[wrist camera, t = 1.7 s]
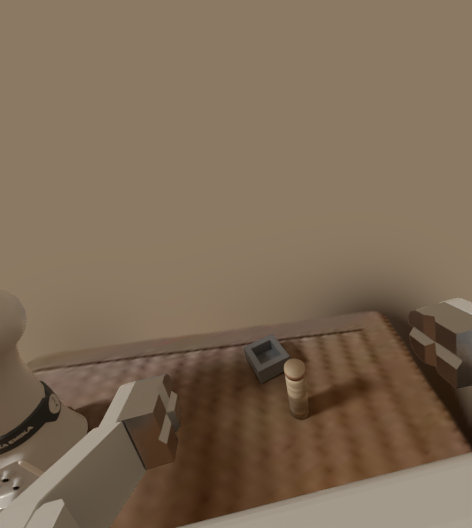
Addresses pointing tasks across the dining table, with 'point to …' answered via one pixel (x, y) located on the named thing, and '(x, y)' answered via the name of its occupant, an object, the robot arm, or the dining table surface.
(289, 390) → the dowel
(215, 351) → the dining table surface
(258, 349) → the square socket block
